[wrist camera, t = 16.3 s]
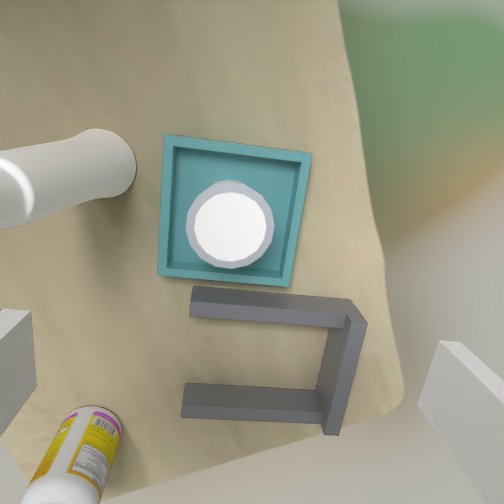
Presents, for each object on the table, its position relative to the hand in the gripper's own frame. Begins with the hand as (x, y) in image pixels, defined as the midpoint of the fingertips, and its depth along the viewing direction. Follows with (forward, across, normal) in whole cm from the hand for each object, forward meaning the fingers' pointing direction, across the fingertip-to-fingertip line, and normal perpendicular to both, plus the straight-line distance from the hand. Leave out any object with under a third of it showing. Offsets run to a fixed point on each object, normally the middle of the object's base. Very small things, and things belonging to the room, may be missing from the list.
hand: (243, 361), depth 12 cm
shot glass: (+24, 0, 0) cm, 24 cm away
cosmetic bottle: (+24, -12, +3) cm, 27 cm away
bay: (+24, +5, -15) cm, 29 cm away
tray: (+24, 0, 0) cm, 24 cm away
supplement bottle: (+24, -13, -27) cm, 39 cm away
